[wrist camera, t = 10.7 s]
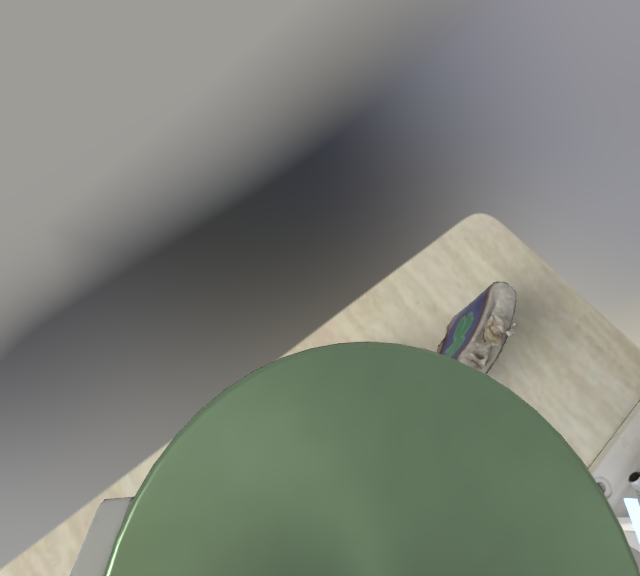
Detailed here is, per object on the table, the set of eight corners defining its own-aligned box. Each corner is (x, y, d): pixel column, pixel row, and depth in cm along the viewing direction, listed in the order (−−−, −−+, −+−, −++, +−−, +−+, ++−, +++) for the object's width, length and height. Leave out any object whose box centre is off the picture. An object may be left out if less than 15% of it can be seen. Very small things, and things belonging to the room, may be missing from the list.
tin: (297, 391, 14) (326, 255, 5) (425, 491, 13) (736, 546, 4) (192, 530, 13) (-61, 708, 3) (330, 654, 12) (508, 1355, 2)
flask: (453, 311, 43) (506, 264, 33) (480, 326, 42) (542, 284, 33) (414, 392, 39) (460, 368, 30) (443, 409, 39) (499, 391, 29)
